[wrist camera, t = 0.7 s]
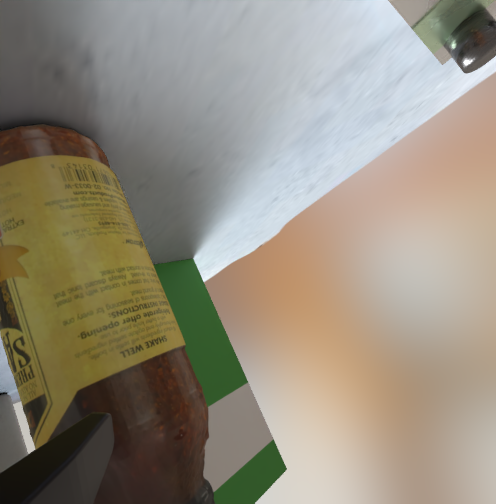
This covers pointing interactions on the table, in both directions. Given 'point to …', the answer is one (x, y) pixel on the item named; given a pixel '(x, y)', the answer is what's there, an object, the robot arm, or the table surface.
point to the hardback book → (221, 393)
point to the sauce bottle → (94, 319)
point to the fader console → (454, 29)
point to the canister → (10, 435)
